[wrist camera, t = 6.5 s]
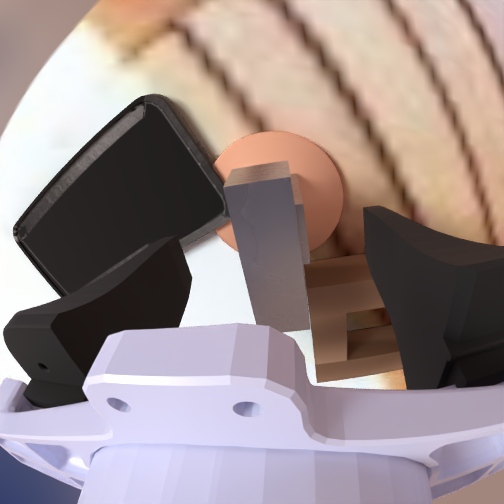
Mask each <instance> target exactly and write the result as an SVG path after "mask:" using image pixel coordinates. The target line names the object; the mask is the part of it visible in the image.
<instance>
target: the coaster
mask: <svg viewBox="0 0 504 504" xmlns="http://www.w3.org/2000/svg"><path fill="white" fill-rule="evenodd" d="M286 160H288V163H289V169H290V174H294V173H297V176H298V181H299V186H300V190H301V195H302V200H303V206H304V214H305V222H306V229H307V238H308V246H309V253H310V252H312V251H313V250H315V249H316V248H318V247H319V246H320V245H322V244H323V243H324V242H325V241H326V240H327V239H328V238H329V236H330V235H331V234H332V232H333V231H334V229H335V227H336V226H337V224H338V221H339V219H340V216H341V212H342V209H343V187H342V182H341V179H340V176H339V174H338V171H337V169H336V167H335V166H334V164H333V163H332V161H331V160H330V158H329V157H328V156H327V155H326V154H325V152H324V151H323V150H322V149H320V148H319V147H318V146H317V145H316V144H314V143H313V142H311V141H309V140H308V139H306V138H303V137H301V136H299V135H296V134H293V133H289V132H283V131H265V132H258V133H254V134H251V135H248V136H246V137H243V138H241V139H239V140H238V141H236V142H234V143H233V144H232V145H230V146H229V147H228V148H227V149H226V150H225V151H224V152H223V153H222V154H221V155H220V156H219V157H218V159H217V160H216V161H215V163H214V164H213V168H214V169H215V171H216V172H217V174H218V175H219V177H220V178H221V180H222V181H223V183H224V184H225V182H226V180H227V178H228V176H229V174H230V172H231V170H232V169H236V168H242V167H248V166H254V165H260V164H266V163H273V162H279V161H286ZM215 231H216V233H217V234H218V235H219V236H220V238H221V239H222V240H223V241H224V242H225V243H226V244H228V245H229V246H230V247H231V248H233V249H234V250H236V251H237V252H238V248H237V244H236V239H235V235H234V231H233V227H232V223H231V219H229V221H227V222H226V223H225V224H224V225H222V226H220V227H218V228H216V229H215Z"/></svg>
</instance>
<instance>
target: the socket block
mask: <svg viewBox="0 0 504 504" xmlns="http://www.w3.org/2000/svg"><path fill="white" fill-rule="evenodd" d="M310 263H311V264H304V271H305V280H306V289H307V297H308V305H309V313H310V322H311V330H312V339H313V348H314V358H315V368H316V378H317V383H320V382H328V381H336V380H343V379H350V378H356V377H362V376H368V375H374V374H380V373H385V372H390V371H395V370H400V369H403V366H402V361H401V357H400V352H399V348H398V344H397V340H396V336H395V333H394V329H393V326H392V325H386V326H381V327H375V328H369V329H362V330H356V331H350V332H347V313H352V312H358V311H365V310H371V309H377V308H383V307H385V305H384V303H383V301H382V299H381V296H380V294H379V292H378V290H377V287H376V285H375V283H374V281H373V278H372V276H371V273H370V270H369V266H368V263H367V260H366V256H365V254H358V255H351V256H344V257H337V258H330V259H323V260H316V261H310Z"/></svg>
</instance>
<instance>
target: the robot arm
mask: <svg viewBox="0 0 504 504" xmlns="http://www.w3.org/2000/svg"><path fill="white" fill-rule="evenodd" d="M363 211H364V232H365V256H366V260H367V263H368V266H369V270H370V273H371V276H372V278H373V281H374V283H375V285H376V287H377V290H378V292H379V294H380V296H381V299H382V301H383V303H384V305H385V308H386V310H387V312H388V315H389V317H390V320H391V323H392V326H393V329H394V333H395V336H396V340H397V344H398V348H399V352H400V357H401V361H402V366H403V371H404V376H405V382H406V387H407V390H381V389H353V388H336V387H322V386H313V385H312V384H311V383H310V382H309V379H308V377H307V372H306V364H305V357H304V355H303V353H302V352H301V350H300V348H299V346H298V345H297V343H296V341H295V340H294V339H293V338H291V337H289V336H288V335H286V334H284V333H282V332H280V331H278V330H276V329H274V328H272V327H270V326H263V325H252V324H242V323H234V324H222V325H210V326H196V327H181V328H179V325H180V322H181V319H182V316H183V314H184V311H185V308H186V305H187V302H188V299H189V294H190V289H191V282H192V276H191V273H190V270H189V267H188V265H187V262H186V259H185V256H184V253H183V250H182V247H181V244H180V241H179V238H178V235H176V236H170V237H164V238H162V239H159V240H158V241H156V242H154V243H153V244H151V245H150V246H148V247H147V248H145V249H144V250H142V251H141V252H139V253H138V254H137V255H135V256H134V257H132V258H131V259H130V260H128V261H127V262H125V263H124V264H122V265H121V266H119V267H118V268H116V269H115V270H113V271H112V272H110V273H109V274H107V275H106V276H104V277H102V278H101V279H99V280H97V281H95V282H93V283H92V284H90V285H88V286H86V287H84V288H82V289H80V290H78V291H76V292H73V293H71V294H69V295H67V296H65V297H62V298H60V299H57V300H55V301H52V302H49V303H46V304H43V305H40V306H37V307H33V308H30V309H26V310H23V311H19V312H17V313H16V314H15V315H14V316H13V317H12V319H11V320H10V321H9V323H8V324H7V325H6V326H5V328H4V331H3V336H4V340H5V343H6V345H7V348H8V349H9V351H10V352H11V354H12V355H13V357H14V358H15V359H16V361H17V362H18V363H19V364H20V366H21V367H22V368H23V369H24V371H25V372H26V373H27V374H28V376H29V377H30V378H31V381H30V383H29V384H28V385H27V384H25V383H24V382H22V381H19V380H14V379H10V378H5V379H4V381H3V382H2V384H1V385H0V446H1V447H3V448H4V449H5V450H6V451H7V452H9V453H10V454H11V455H12V456H14V457H15V458H16V459H17V460H19V461H20V462H22V463H24V464H26V465H28V466H30V467H32V468H34V469H36V470H38V471H40V472H42V473H45V474H47V475H49V476H51V477H53V478H56V479H58V480H60V481H62V482H65V483H67V484H69V485H71V486H74V487H76V488H78V489H81V490H82V492H81V495H80V498H79V501H78V504H433V501H432V500H435V499H438V498H440V497H443V496H446V495H448V494H450V493H453V492H455V491H458V490H460V489H462V488H465V487H467V486H470V485H471V484H474V483H476V482H478V481H480V480H482V479H485V478H486V477H488V476H490V475H493V474H495V473H497V472H498V471H500V470H502V469H504V246H496V245H489V244H483V243H477V242H473V241H468V240H464V239H460V238H456V237H453V236H450V235H447V234H444V233H441V232H438V231H435V230H432V229H430V228H428V227H425V226H423V225H421V224H418V223H416V222H414V221H412V220H410V219H408V218H406V217H403V216H401V215H399V214H397V213H395V212H393V211H391V210H389V209H387V208H385V207H382V206H371V207H364V208H363Z"/></svg>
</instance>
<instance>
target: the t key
mask: <svg viewBox="0 0 504 504" xmlns="http://www.w3.org/2000/svg"><path fill="white" fill-rule="evenodd" d="M223 189H224V194H225V198H226V202H227V206H228V210H229V215H230V219H231V223H232V227H233V231H234V235H235V239H236V244H237V248H238V252H239V256H240V260H241V264H242V268H243V272H244V276H245V280H246V284H247V288H248V292H249V297H250V301H251V305H252V309H253V313H254V317H255V321H256V325H263V326H270V327H272V328H274V329H276V330H278V331H280V332H290V331H300V330H308V329H310V321H309V311H308V301H307V292H306V284H305V275H304V267H303V264H311V263H310V255H309V246H308V238H307V229H306V222H305V214H304V206H303V200H302V195H301V190H300V186H299V181H298V176H297V173H294V174H290V169H289V163H288V160H286V161H279V162H273V163H266V164H260V165H254V166H248V167H242V168H236V169H232V170H231V172H230V174H229V176H228V178H227V180H226V182H225V184H224V186H223Z"/></svg>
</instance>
